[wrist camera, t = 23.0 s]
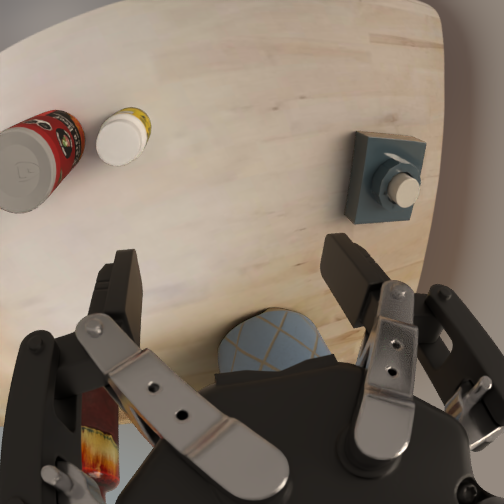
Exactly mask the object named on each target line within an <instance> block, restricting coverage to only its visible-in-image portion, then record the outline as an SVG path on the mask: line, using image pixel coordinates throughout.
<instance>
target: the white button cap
mask: <svg viewBox="0 0 504 504" xmlns="http://www.w3.org/2000/svg"><path fill="white" fill-rule="evenodd" d="M387 193H388V196H389V198H390V199H391V200H392V201H394V202H395V203H396V204H398V205H399V206H400V207H403V208H406V207H409V206H411V205H413V204H414V203H415V201H416V200H417V198H418V196H419V193H420V186H419V183H418V181H417V180H415V179H414V178H412V177H410V176H409V175H407V174H405V173H399V174H396V175H395V176H394V177H393V178H392V179H391V181H390V182H389V184H388V188H387Z"/></svg>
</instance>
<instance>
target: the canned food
mask: <svg viewBox="0 0 504 504" xmlns="http://www.w3.org/2000/svg"><path fill="white" fill-rule="evenodd" d="M84 146H85V136H84V131H83V129H82V126H81V124H80V123H79V121H78V120H77V119H76V118H75V117H73V116H72V115H70V114H69V113H67V112H64V111H59V110H52V111H48V112H44V113H42V114H39V115H37V116H34V117H32V118H30V119H27V120H25V121H23V122H21V123H18V124H16V125H14V126H12V127H10V128H8V129H6V130H4V131H2V132H1V133H0V208H1V209H3V210H5V211H8V212H11V213H26V212H30V211H32V210H34V209H36V208H37V207H38V206H40V205H41V204H42V203H43V202H44V201H45V200H46V199H47V198H48V197H49V196H50V195H51V193H52V192H53V191H54V190H55V189H56V187H57V186H58V185H59V184H60V183H61V181H62V180H63V179H64V178H65V177H66V176H67V174H68V173H69V172H70V171H71V170H72V169H73V168H74V167H75V165H76V164H77V163H78V162H79V160H80V159H81V156H82V154H83V151H84Z"/></svg>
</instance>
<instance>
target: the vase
mask: <svg viewBox="0 0 504 504" xmlns="http://www.w3.org/2000/svg"><path fill="white" fill-rule="evenodd" d="M118 410H119V408H118V405H117V404H116V403H115V401H114V400H113V399H112V398H111V396H110V395H109V394H108V393H107V391H106V390H105V389H104V388H103V387H100V388H97V389H94V390H91V391H88V392H84V393H82V412H81V455H82V471H83V472H84V473H86V474H87V475H88V476H90V477H91V478H92V479H93V480H94V481H95V482H96V483H97V485H98V487H99V489H100V493H101V496H102V498H103V500H104V502H105V503H106V499H105V494H106V492H109V491H112V490H114V489H115V488H116V487H117V486H118V484H119V481H120V476H119V440H118V439H119V438H118Z"/></svg>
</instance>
